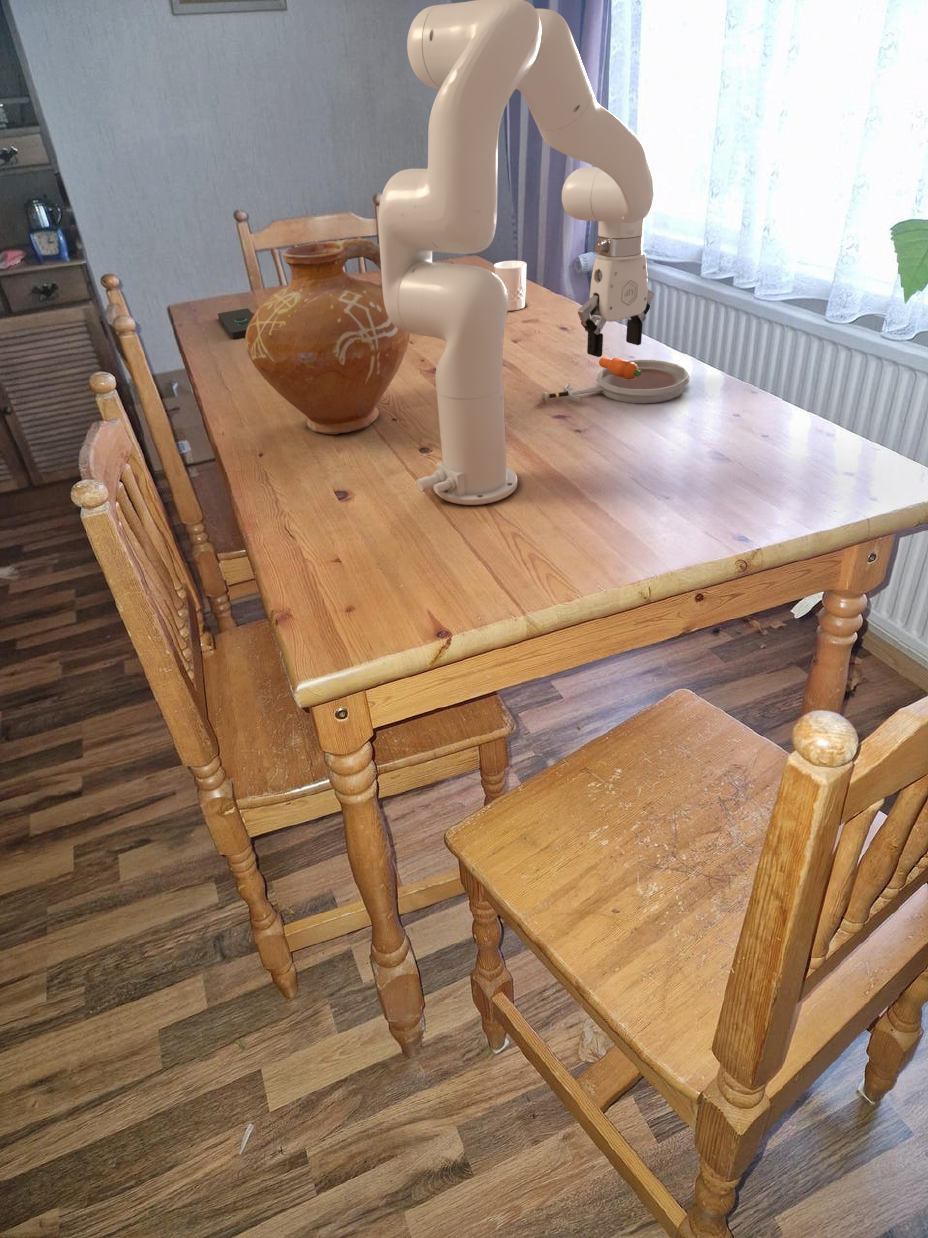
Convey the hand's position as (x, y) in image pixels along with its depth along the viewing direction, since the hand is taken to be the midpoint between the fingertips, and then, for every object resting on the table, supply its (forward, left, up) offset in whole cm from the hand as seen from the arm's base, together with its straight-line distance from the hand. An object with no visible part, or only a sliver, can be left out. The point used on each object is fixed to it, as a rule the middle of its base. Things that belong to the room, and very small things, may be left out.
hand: (614, 349), depth 146 cm
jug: (-43, +25, -8) cm, 51 cm away
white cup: (+24, +59, -8) cm, 64 cm away
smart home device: (-32, +99, -8) cm, 104 cm away
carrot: (+1, +1, -5) cm, 5 cm away
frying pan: (+1, 0, -8) cm, 8 cm away
